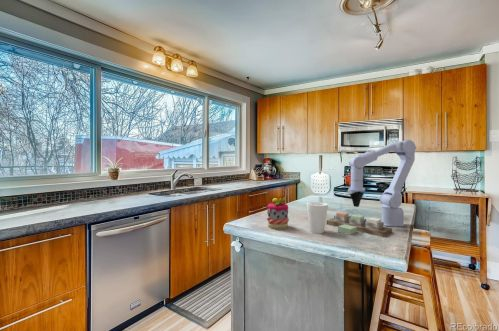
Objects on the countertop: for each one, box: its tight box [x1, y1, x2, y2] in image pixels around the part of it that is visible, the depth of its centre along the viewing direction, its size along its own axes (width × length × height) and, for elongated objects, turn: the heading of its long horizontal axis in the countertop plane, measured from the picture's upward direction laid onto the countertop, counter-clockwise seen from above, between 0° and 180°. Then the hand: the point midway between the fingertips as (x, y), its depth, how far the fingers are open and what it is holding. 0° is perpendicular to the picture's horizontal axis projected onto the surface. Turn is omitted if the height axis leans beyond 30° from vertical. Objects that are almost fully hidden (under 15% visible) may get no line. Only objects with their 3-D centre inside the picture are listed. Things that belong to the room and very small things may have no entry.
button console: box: [326, 215, 393, 238], centre depth 125 cm, size 28×10×4 cm, turn 41°
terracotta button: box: [335, 211, 350, 218], centre depth 130 cm, size 4×4×3 cm
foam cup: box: [306, 201, 329, 234], centre depth 119 cm, size 10×9×13 cm
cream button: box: [366, 217, 382, 224], centre depth 118 cm, size 4×4×3 cm
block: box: [337, 224, 358, 235], centre depth 118 cm, size 6×6×2 cm
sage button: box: [350, 214, 365, 221], centre depth 124 cm, size 4×4×3 cm
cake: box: [266, 197, 290, 230], centre depth 127 cm, size 10×11×15 cm
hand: (356, 206), depth 131 cm, fingers closed
